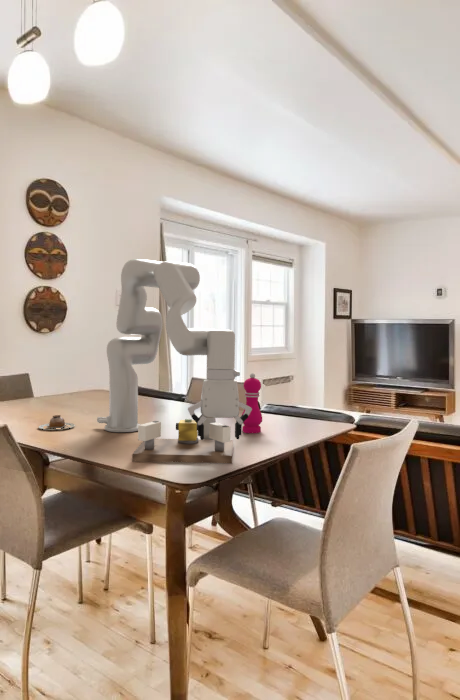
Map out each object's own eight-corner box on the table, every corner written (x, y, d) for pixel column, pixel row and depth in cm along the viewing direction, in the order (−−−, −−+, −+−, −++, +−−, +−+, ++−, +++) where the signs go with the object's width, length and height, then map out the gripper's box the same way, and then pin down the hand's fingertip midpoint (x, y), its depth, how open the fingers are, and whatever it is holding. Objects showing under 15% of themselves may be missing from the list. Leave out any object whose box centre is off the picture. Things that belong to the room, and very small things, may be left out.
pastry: (80, 426, 179) (80, 413, 179) (66, 433, 167) (66, 419, 167) (47, 425, 180) (47, 412, 180) (32, 432, 168) (32, 418, 168)
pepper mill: (260, 434, 167) (261, 374, 167) (239, 433, 169) (240, 373, 168) (263, 430, 174) (264, 372, 174) (243, 429, 176) (243, 372, 175)
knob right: (208, 447, 138) (209, 422, 138) (216, 446, 139) (217, 421, 139) (222, 453, 132) (222, 426, 132) (230, 452, 134) (230, 425, 133)
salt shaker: (210, 442, 154) (210, 400, 153) (195, 440, 157) (195, 398, 156) (220, 439, 159) (221, 398, 158) (205, 437, 162) (206, 397, 161)
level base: (132, 461, 131) (132, 428, 131) (145, 445, 150) (146, 416, 149) (231, 463, 130) (232, 430, 130) (233, 446, 149) (233, 418, 149)
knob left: (145, 451, 132) (145, 425, 132) (137, 450, 134) (137, 424, 133) (160, 446, 139) (161, 421, 138) (153, 445, 140) (153, 420, 140)
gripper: (249, 374, 140) (248, 435, 141) (187, 374, 137) (186, 436, 138) (254, 376, 133) (253, 441, 133) (189, 376, 130) (188, 442, 131)
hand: (219, 438), depth 136 cm, fingers open, 9 cm apart
